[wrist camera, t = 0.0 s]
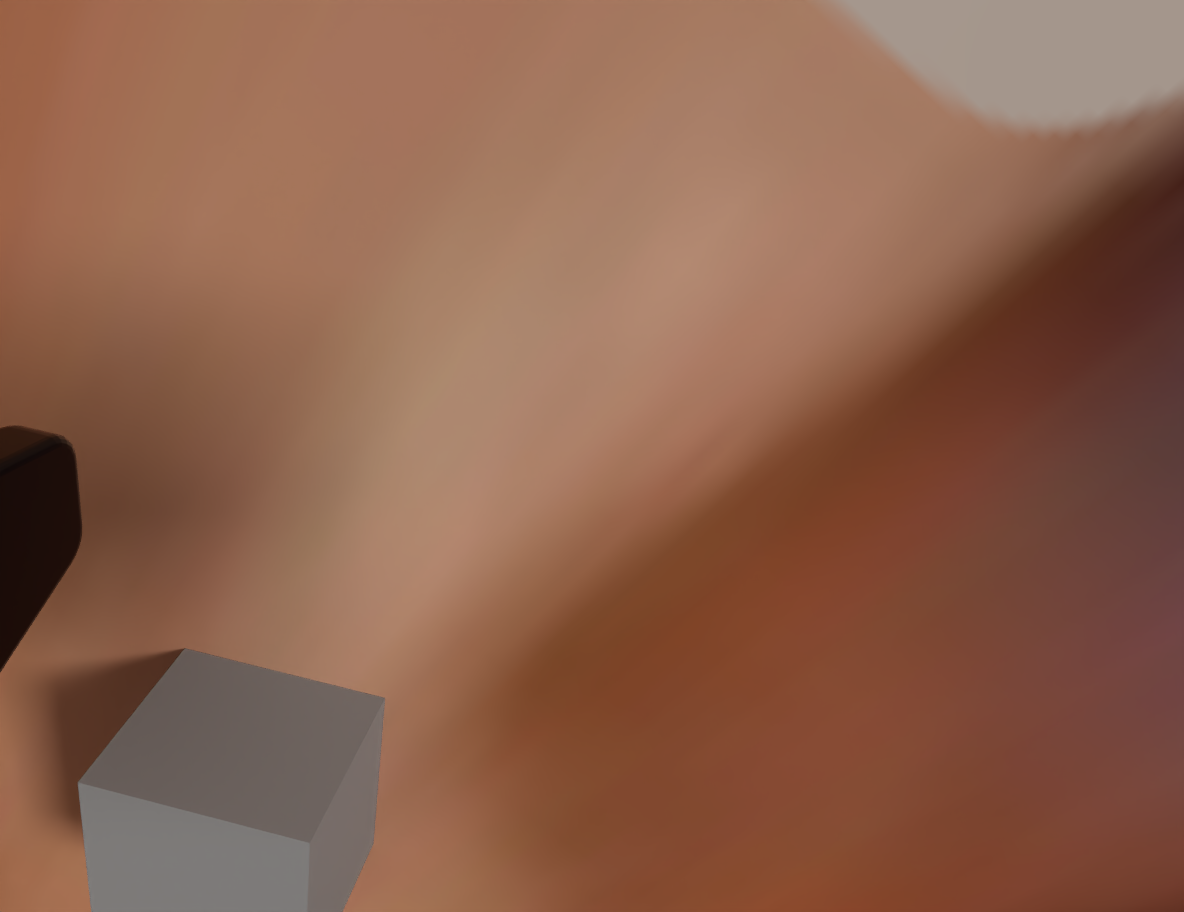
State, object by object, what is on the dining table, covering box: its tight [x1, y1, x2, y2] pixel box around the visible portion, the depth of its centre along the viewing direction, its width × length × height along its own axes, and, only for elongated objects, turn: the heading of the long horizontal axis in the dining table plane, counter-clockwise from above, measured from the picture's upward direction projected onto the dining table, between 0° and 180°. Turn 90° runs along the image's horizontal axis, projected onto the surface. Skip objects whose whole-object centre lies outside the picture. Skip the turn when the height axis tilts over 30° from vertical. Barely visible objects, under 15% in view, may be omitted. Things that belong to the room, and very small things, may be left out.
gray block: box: [78, 649, 385, 912], centre depth 29 cm, size 6×6×5 cm
